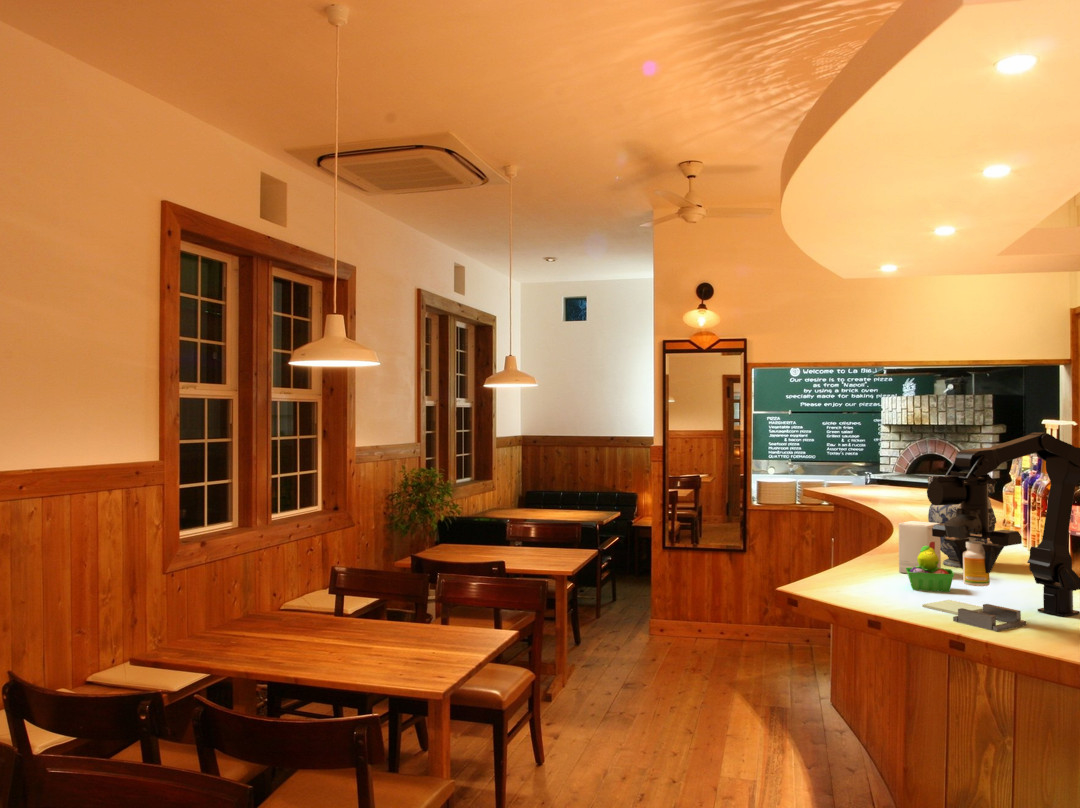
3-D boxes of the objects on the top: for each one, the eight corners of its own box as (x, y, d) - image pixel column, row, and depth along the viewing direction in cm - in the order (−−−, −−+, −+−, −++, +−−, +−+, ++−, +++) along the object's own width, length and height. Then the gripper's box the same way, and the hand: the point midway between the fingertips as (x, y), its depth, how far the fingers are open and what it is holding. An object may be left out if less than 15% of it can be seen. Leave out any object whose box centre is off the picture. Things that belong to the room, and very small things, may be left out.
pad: (949, 602, 206) (948, 599, 206) (986, 610, 197) (986, 607, 197) (922, 606, 201) (922, 604, 201) (959, 615, 192) (959, 612, 192)
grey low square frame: (982, 615, 192) (981, 602, 192) (1026, 625, 182) (1026, 611, 182) (953, 621, 187) (952, 607, 187) (997, 631, 178) (996, 617, 178)
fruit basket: (908, 590, 220) (907, 548, 220) (905, 584, 228) (904, 543, 228) (955, 593, 216) (954, 550, 216) (950, 586, 224) (950, 545, 224)
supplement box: (928, 577, 238) (927, 525, 238) (898, 573, 244) (897, 522, 245) (942, 573, 244) (941, 522, 244) (911, 569, 250) (911, 520, 250)
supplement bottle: (993, 587, 186) (992, 544, 187) (968, 586, 187) (966, 544, 188) (984, 582, 192) (983, 540, 192) (960, 581, 193) (959, 540, 193)
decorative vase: (1012, 566, 252) (1009, 475, 253) (981, 574, 242) (978, 479, 242) (945, 557, 270) (942, 472, 270) (913, 564, 259) (910, 476, 260)
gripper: (916, 502, 194) (917, 568, 194) (992, 510, 178) (994, 581, 178) (945, 499, 200) (947, 563, 199) (1022, 506, 183) (1024, 576, 183)
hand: (976, 571), depth 190 cm, fingers closed on supplement bottle, 5 cm apart
